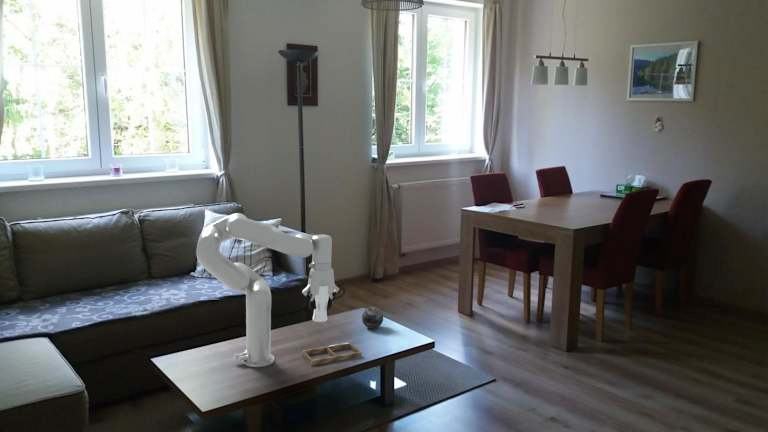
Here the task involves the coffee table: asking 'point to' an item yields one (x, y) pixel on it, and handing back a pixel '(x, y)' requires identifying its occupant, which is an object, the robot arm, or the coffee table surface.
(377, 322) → the decorative stone
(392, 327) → the coffee table surface
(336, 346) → the coaster frame
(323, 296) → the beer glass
